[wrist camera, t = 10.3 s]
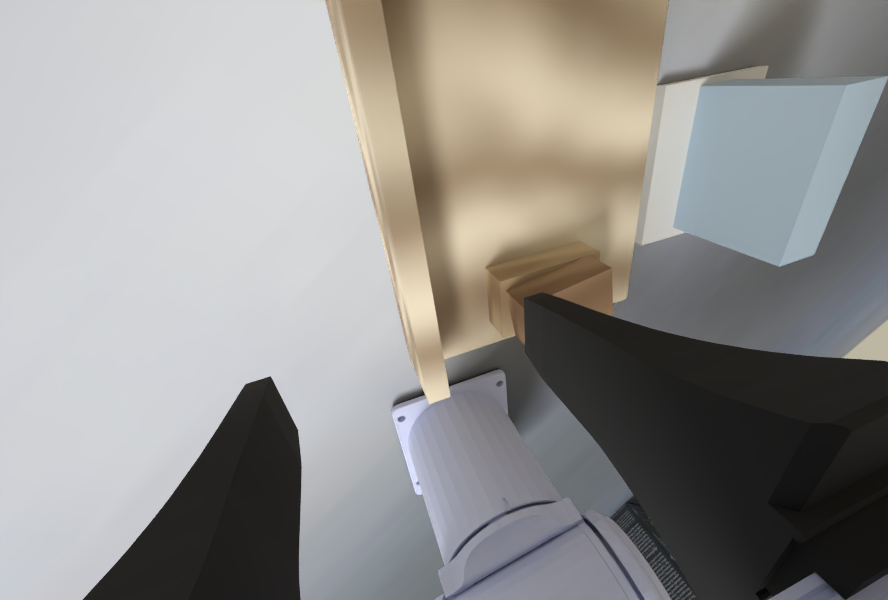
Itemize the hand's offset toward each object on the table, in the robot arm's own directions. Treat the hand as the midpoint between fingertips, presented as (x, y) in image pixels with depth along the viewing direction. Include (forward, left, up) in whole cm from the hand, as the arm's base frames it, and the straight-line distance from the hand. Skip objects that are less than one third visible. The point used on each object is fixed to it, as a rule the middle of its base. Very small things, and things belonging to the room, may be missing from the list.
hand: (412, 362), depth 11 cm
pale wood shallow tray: (+2, -9, -10) cm, 13 cm away
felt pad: (0, -21, -10) cm, 23 cm away
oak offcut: (-4, -9, -9) cm, 13 cm away
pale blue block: (0, -21, -9) cm, 23 cm away
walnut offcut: (-4, -9, -7) cm, 12 cm away
